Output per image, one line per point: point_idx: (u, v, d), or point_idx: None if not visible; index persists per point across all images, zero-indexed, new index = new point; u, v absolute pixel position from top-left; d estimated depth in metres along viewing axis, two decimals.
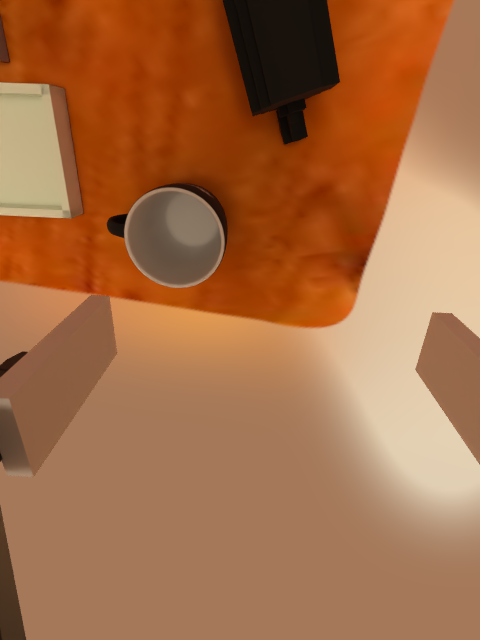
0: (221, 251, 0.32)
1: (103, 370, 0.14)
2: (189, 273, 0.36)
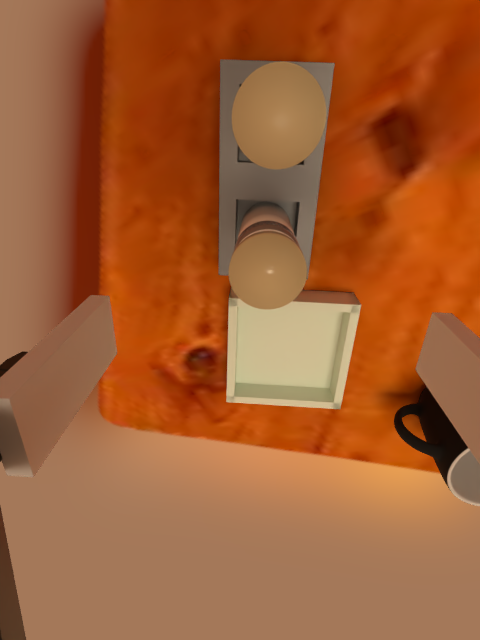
0: None
1: (103, 370, 0.14)
2: (477, 477, 0.36)
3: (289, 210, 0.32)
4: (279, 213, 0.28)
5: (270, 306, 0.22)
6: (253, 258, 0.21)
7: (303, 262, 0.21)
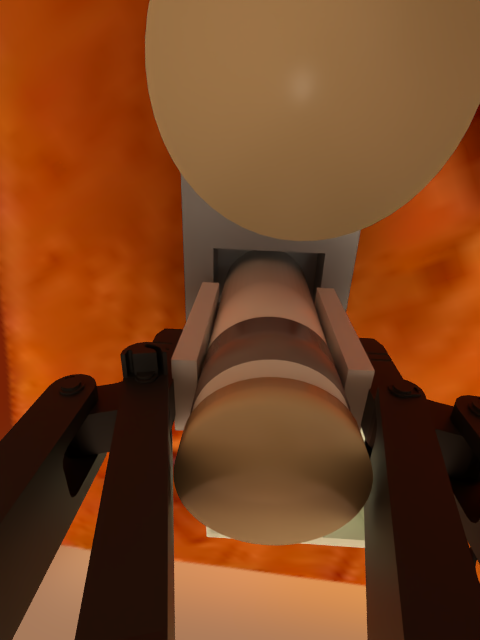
0: None
1: None
2: None
3: (304, 261, 0.19)
4: (290, 279, 0.15)
5: (278, 540, 0.09)
6: (235, 453, 0.08)
7: (365, 464, 0.08)
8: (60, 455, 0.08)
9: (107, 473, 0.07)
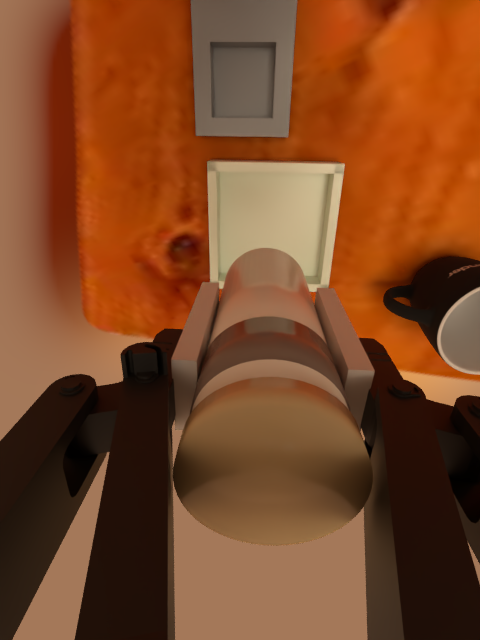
0: None
1: None
2: (470, 353, 0.34)
3: (267, 62, 0.30)
4: (290, 279, 0.15)
5: (277, 540, 0.09)
6: (234, 453, 0.08)
7: (365, 464, 0.08)
8: (60, 455, 0.08)
9: (107, 473, 0.07)
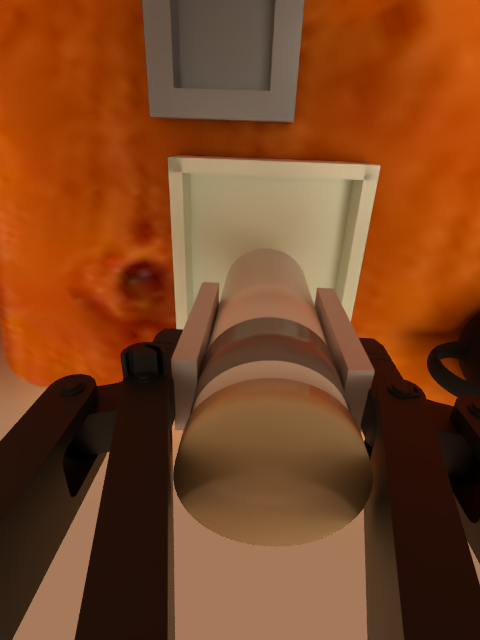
0: None
1: None
2: None
3: (263, 2, 0.19)
4: (290, 280, 0.15)
5: (278, 541, 0.09)
6: (235, 454, 0.08)
7: (365, 465, 0.08)
8: (60, 454, 0.08)
9: (107, 473, 0.07)
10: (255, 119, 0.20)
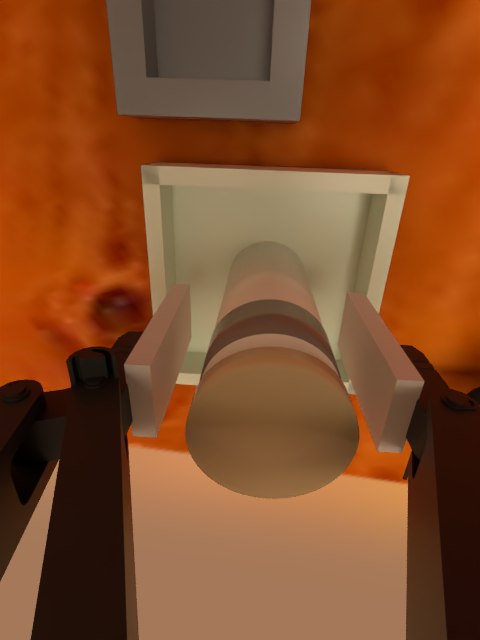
0: None
1: (185, 351, 0.16)
2: None
3: None
4: (290, 269, 0.16)
5: (276, 493, 0.11)
6: (239, 411, 0.09)
7: (352, 421, 0.09)
8: (6, 463, 0.08)
9: (57, 484, 0.07)
10: (251, 117, 0.16)
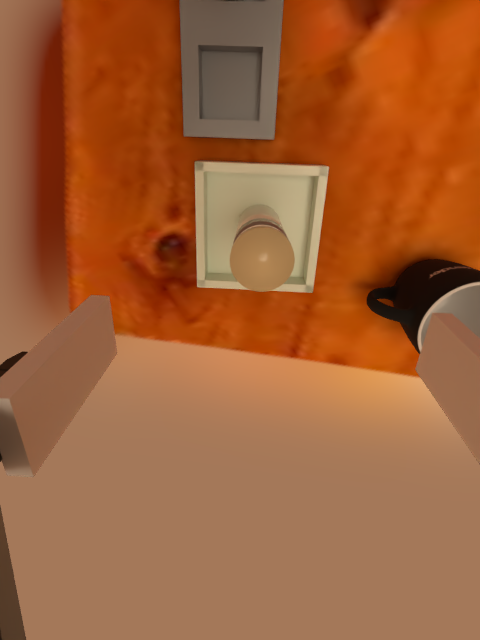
0: None
1: (103, 370, 0.14)
2: None
3: (254, 66, 0.31)
4: (271, 213, 0.32)
5: (264, 289, 0.27)
6: (250, 248, 0.25)
7: (291, 251, 0.25)
8: None
9: None
10: (250, 138, 0.32)
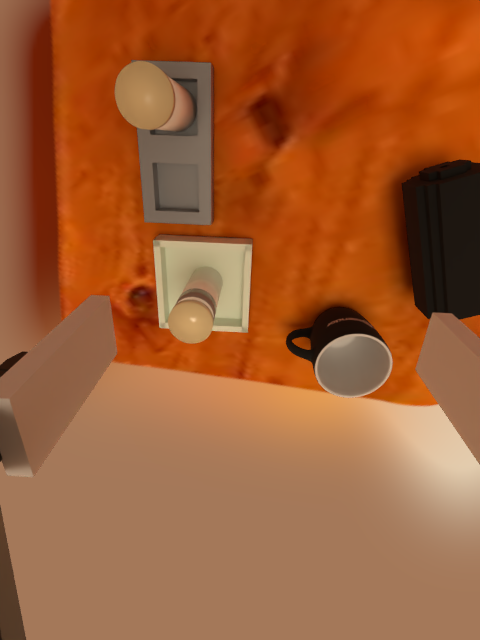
0: (388, 374, 0.42)
1: (103, 370, 0.14)
2: (348, 381, 0.46)
3: (196, 172, 0.43)
4: (209, 278, 0.44)
5: (193, 341, 0.38)
6: (181, 315, 0.37)
7: (209, 317, 0.37)
8: None
9: None
10: (193, 223, 0.43)
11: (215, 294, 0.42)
